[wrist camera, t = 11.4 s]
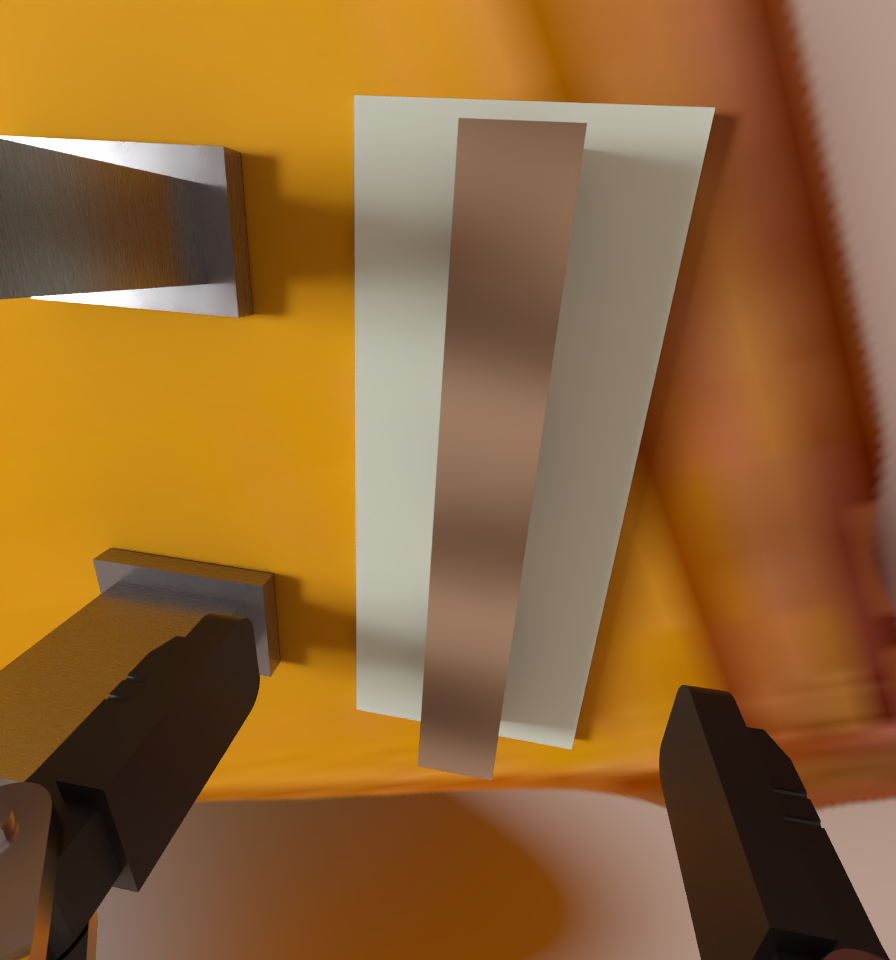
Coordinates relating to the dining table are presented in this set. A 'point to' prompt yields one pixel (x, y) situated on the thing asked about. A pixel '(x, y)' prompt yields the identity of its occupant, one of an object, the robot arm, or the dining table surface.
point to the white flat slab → (571, 396)
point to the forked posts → (135, 284)
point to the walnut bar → (492, 418)
